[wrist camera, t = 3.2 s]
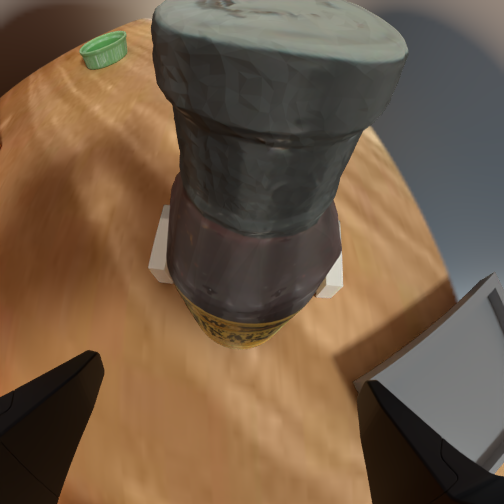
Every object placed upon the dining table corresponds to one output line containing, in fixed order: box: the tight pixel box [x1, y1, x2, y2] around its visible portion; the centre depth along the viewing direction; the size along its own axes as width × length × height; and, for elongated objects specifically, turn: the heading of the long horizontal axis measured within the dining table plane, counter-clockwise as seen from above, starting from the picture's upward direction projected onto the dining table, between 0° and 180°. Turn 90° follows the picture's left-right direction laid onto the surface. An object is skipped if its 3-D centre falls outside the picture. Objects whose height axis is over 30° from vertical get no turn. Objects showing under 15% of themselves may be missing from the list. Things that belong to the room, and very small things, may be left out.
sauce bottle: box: [151, 0, 408, 349], centre depth 12 cm, size 6×6×20 cm
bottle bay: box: [148, 205, 343, 298], centre depth 21 cm, size 5×13×3 cm, turn 85°
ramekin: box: [80, 31, 127, 70], centre depth 36 cm, size 9×9×4 cm
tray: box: [353, 272, 504, 474], centre depth 16 cm, size 18×18×2 cm
